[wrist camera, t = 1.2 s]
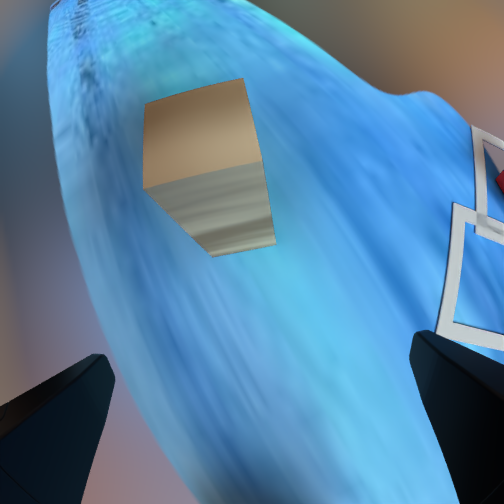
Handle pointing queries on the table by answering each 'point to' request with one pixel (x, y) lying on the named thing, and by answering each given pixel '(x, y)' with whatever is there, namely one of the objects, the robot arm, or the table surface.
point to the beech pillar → (209, 167)
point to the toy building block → (501, 180)
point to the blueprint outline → (484, 228)
